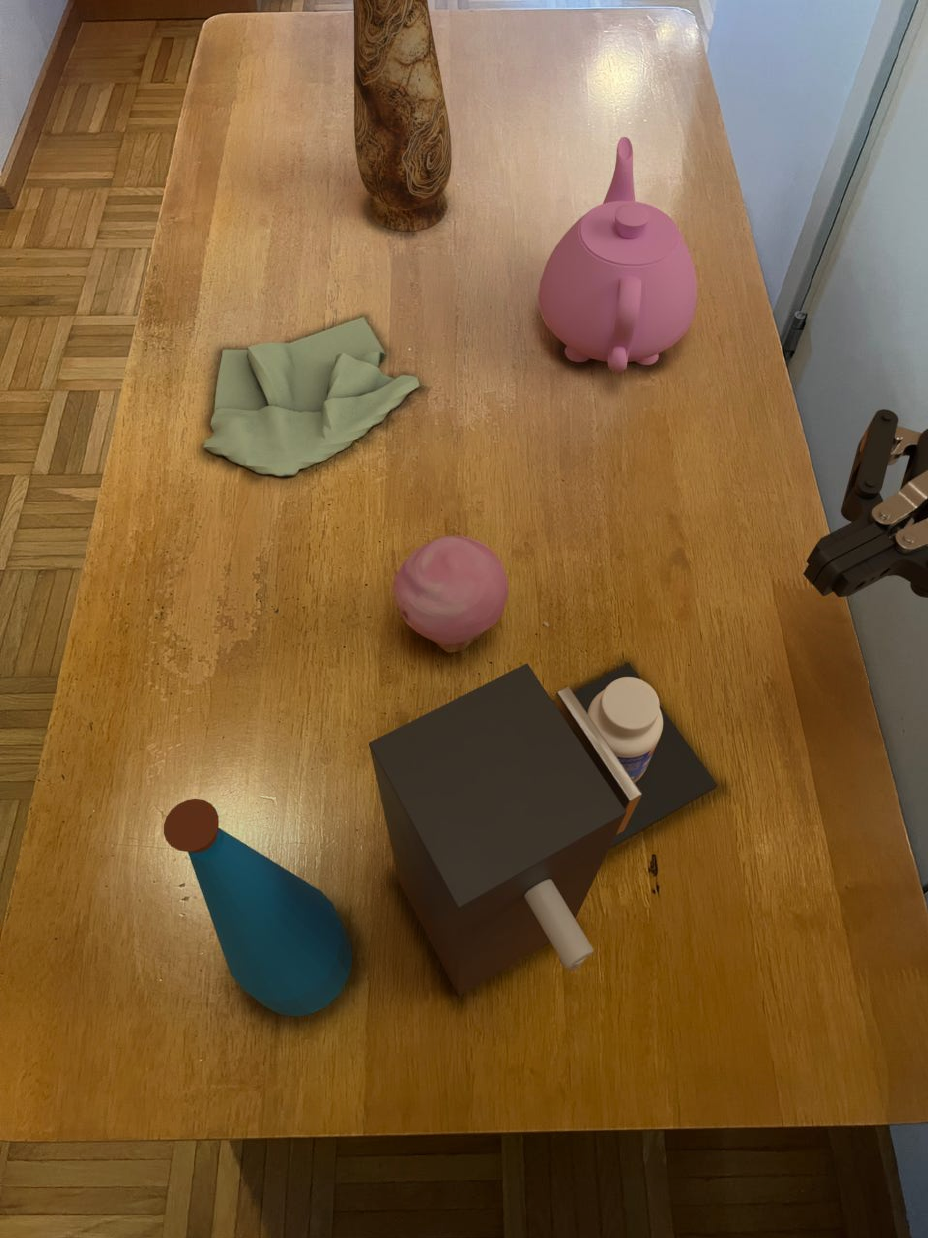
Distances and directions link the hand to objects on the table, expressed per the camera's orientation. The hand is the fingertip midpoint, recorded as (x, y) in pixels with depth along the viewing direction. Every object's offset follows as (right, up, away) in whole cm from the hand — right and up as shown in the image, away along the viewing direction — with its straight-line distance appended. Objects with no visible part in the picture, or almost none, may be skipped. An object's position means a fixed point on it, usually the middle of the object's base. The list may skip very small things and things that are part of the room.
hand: (818, 576), depth 45 cm
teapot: (-2, +29, +51) cm, 59 cm away
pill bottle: (-6, -13, +27) cm, 30 cm away
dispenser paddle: (-10, -11, +8) cm, 17 cm away
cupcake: (-18, -3, +33) cm, 38 cm away
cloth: (-32, +20, +46) cm, 60 cm away
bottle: (-29, -26, +20) cm, 43 cm away
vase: (-24, +45, +61) cm, 79 cm away
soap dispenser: (-15, -24, +21) cm, 35 cm away
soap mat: (-6, -13, +27) cm, 31 cm away
